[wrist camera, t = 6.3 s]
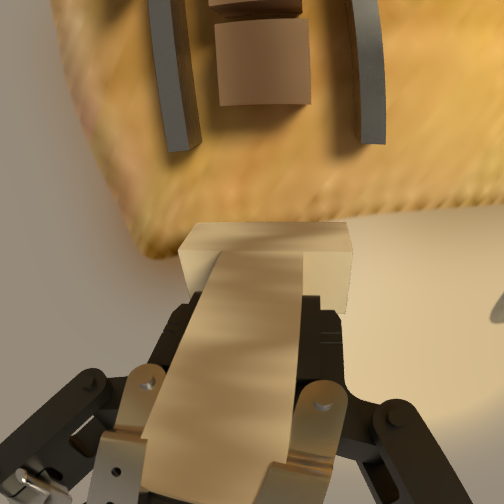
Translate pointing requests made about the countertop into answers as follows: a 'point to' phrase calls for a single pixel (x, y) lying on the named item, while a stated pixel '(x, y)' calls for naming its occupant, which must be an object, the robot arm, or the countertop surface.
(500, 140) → the countertop surface
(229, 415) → the birch scraper
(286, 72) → the walnut chip
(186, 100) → the rail slot
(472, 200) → the countertop surface
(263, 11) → the brown block
